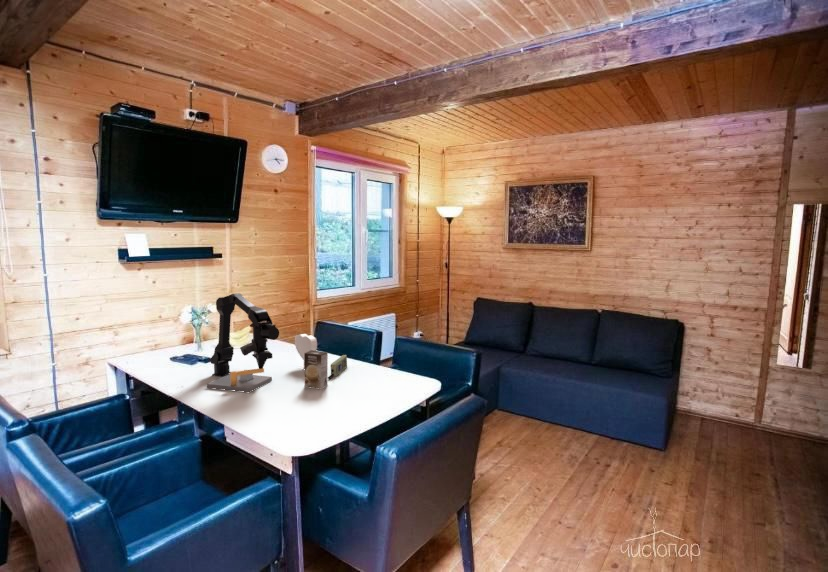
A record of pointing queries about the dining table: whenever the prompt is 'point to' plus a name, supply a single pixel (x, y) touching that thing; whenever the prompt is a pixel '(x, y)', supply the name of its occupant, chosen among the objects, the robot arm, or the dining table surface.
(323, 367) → the coffee box
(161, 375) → the dining table surface
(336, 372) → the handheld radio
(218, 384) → the socket board
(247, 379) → the plug
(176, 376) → the dining table surface
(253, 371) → the long orange beam
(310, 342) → the heart sculpture
